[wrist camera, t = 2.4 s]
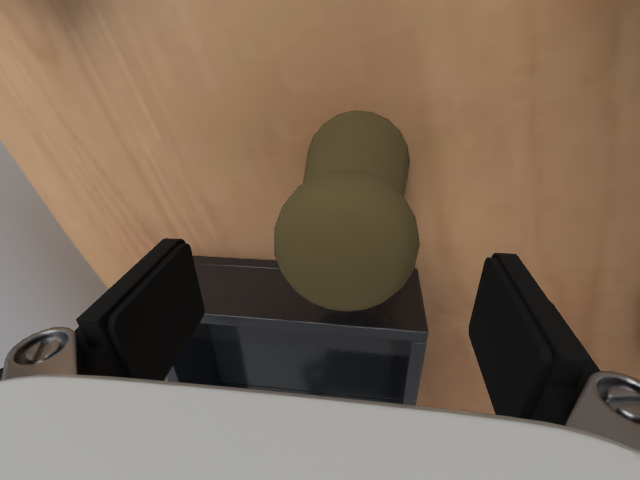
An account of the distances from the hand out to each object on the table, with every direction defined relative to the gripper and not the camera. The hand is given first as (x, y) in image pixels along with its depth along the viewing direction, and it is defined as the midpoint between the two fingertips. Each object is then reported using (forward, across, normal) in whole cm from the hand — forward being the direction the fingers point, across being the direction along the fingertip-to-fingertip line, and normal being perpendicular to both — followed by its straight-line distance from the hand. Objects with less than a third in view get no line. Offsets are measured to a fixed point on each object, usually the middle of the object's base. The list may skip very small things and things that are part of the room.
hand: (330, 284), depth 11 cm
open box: (+12, +4, +13) cm, 18 cm away
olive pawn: (+12, 0, -1) cm, 12 cm away
